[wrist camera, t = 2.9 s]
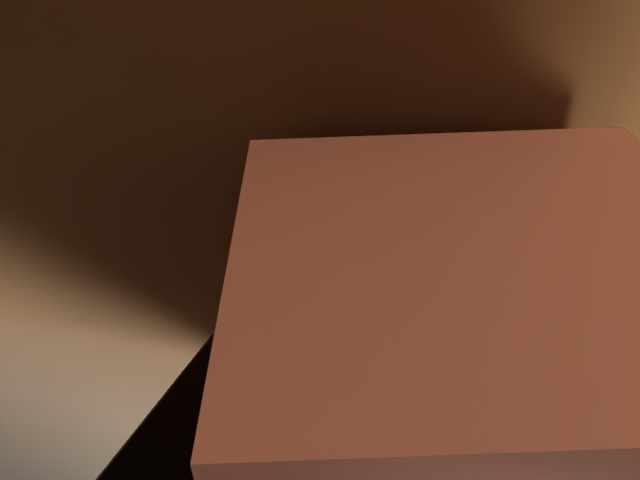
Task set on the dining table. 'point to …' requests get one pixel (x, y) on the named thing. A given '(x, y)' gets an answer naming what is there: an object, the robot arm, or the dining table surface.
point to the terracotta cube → (430, 311)
